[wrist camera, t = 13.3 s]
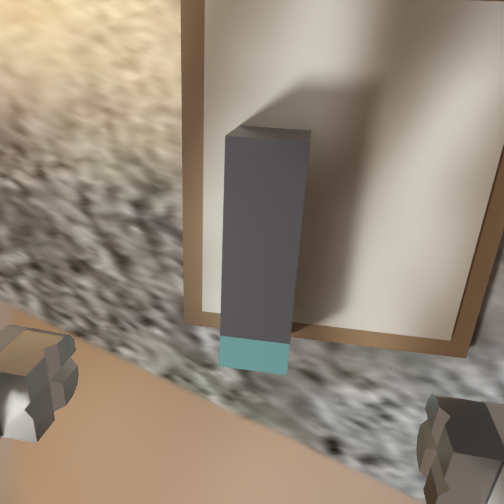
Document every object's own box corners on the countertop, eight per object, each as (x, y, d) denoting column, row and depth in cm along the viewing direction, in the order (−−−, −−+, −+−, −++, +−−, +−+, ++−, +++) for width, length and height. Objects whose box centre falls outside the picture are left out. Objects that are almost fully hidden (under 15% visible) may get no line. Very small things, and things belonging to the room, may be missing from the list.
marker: (311, 130, 18) (310, 142, 15) (290, 336, 22) (286, 374, 19) (239, 125, 18) (225, 135, 16) (231, 329, 22) (219, 366, 20)
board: (570, -26, 16) (582, -30, 15) (462, 350, 22) (467, 360, 21) (184, -38, 17) (178, -42, 16) (187, 317, 23) (182, 325, 23)
